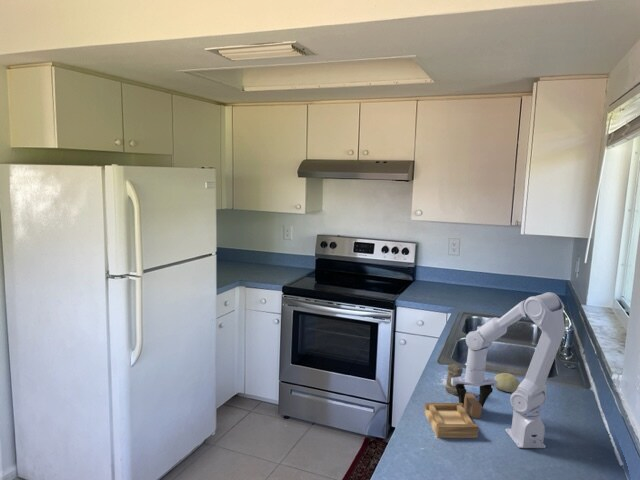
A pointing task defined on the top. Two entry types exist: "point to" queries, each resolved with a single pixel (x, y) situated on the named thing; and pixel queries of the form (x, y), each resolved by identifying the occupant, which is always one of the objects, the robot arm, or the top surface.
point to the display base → (450, 420)
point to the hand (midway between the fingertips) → (471, 405)
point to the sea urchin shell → (507, 382)
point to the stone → (452, 373)
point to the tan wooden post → (472, 406)
